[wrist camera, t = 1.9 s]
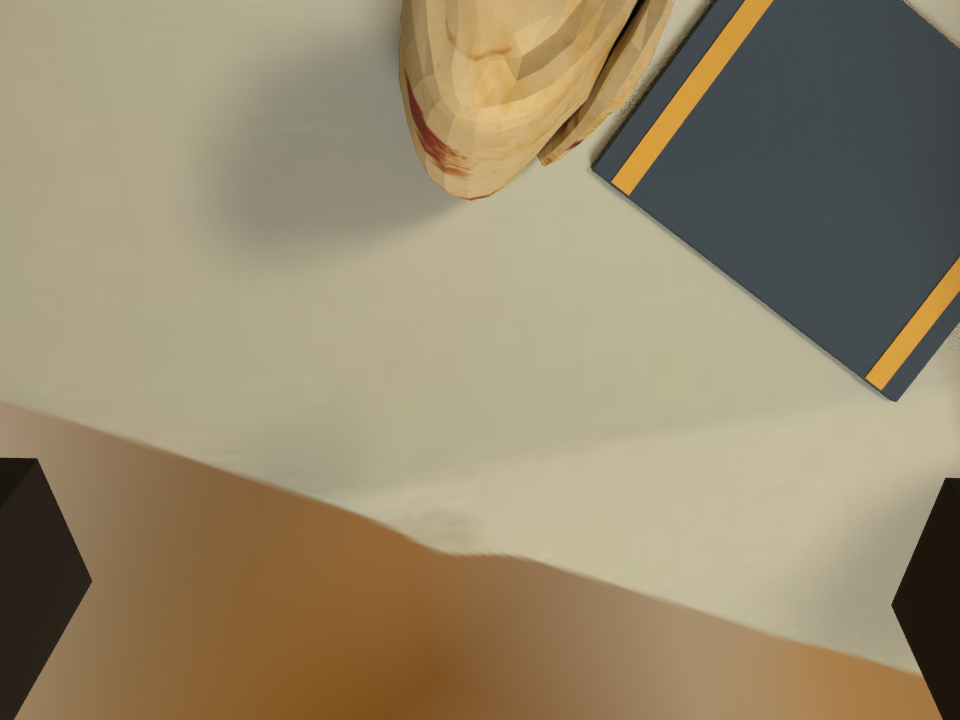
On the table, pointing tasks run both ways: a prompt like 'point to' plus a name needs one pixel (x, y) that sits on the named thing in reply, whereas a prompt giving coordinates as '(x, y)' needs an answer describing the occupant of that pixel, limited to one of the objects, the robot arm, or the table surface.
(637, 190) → the towel
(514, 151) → the food model
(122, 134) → the table surface
